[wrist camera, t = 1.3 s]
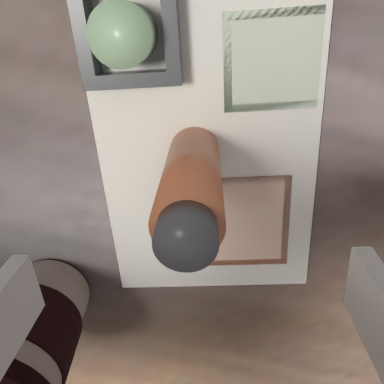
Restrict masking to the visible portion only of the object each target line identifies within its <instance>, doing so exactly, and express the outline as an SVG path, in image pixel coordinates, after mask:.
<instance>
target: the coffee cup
mask: <svg viewBox="0 0 384 384" xmlns="http://www.w3.org/2000/svg"><path fill="white" fill-rule="evenodd" d="M32 264H33V267H34V270H35V274H36V277H37V280H38V283H39V286H40V290H41V293H42V296H43V299H44V303H45V306H44V308H43V310H42V311H41V313H40V315H39V316H38V318H37V320H36V322H35V323H34V325H33V327H32V328H31V330H30V332H29V334H28V335H27V337H26V339H25V340H24V342H23V344H22V346H21V347H20V349H19V351H18V352H17V354H16V356H15V358H14V359H13V361H12V363H11V364H10V366H9V368H8V370H7V371H6V373H5V375H4V376H3V378H2V380H1V382H0V384H65V382H66V379H67V376H68V373H69V370H70V366H71V363H72V360H73V357H74V354H75V350H76V347H77V344H78V341H79V338H80V334H81V331H82V321H83V317H84V314H85V311H86V308H87V305H88V302H89V297H90V290H89V286H88V283H87V281H86V279H85V278H84V277H83V275H82V274H81V273H80V272H79V271H78V270H76V269H75V268H73V267H72V266H70V265H68V264H66V263H63V262H60V261H55V260H41V261H37V262H34V263H32Z"/></svg>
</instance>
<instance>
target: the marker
mask: <svg viewBox="0 0 384 384" xmlns="http://www.w3.org/2000/svg"><path fill="white" fill-rule="evenodd" d="M148 229H149V234H150V236H151V239H152V250H153V252H154V255H155V257H156V258H157V259H158V261H159V262H160V263H161V264H163V265H164V266H165V267H167V268H169V269H171V270H174V271H177V272H183V273H190V272H196V271H200V270H202V269H204V268H206V267H207V266H209V265H210V264H211V263H212V262H213V261H214V260H215V258H216V256H217V254H218V252H219V246H220V244H221V243H222V241H223V239H224V237H225V233H226V218H225V208H224V197H223V186H222V176H221V165H220V155H219V146H218V142H217V140H216V138H215V137H214V135H213V134H212V133H210V132H209V131H208V130H206V129H204V128H200V127H188V128H185V129H183V130H181V131H180V132H178V133H177V134H176V135H175V136H174V138H173V140H172V142H171V145H170V148H169V152H168V155H167V159H166V162H165V166H164V169H163V172H162V176H161V179H160V183H159V186H158V189H157V193H156V196H155V200H154V203H153V207H152V210H151V213H150V217H149V222H148Z"/></svg>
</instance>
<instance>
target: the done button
mask: <svg viewBox="0 0 384 384" xmlns="http://www.w3.org/2000/svg"><path fill="white" fill-rule="evenodd" d="M86 36H87V41H88V44H89V47H90V49H91V51H92V53H93V54H94V56H95V57H96V58H97V59H98V60H99V61H100V62H101V63H103V64H104V65H106V66H108V67H110V68H113V69H117V70H126V69H130V68H133V67H135V66H137V65H138V64H140V63H141V62H143V61H145V60H146V59H147V58H149V57H150V55H151V54H152V53H153V51H154V49H155V47H156V44H157V39H158V31H157V26H156V23H155V21H154V19H153V17H152V15H151V14H150V13H149V11H148V10H147V9H145V8H144V7H143V6H141V5H140V4H137V3H135V2H131V1H127V0H106V1H103V2H101V3H100V4H98V5H97V6H96V7H95V8H94V9H93V11H92V12H91V14H90V16H89V18H88V21H87V27H86Z"/></svg>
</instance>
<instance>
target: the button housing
mask: <svg viewBox="0 0 384 384" xmlns="http://www.w3.org/2000/svg"><path fill="white" fill-rule="evenodd" d="M67 4H68V9H69V15H70V20H71V25H72V31H73V36H74V41H75V47H76V52H77V57H78V63H79V68H80V73H81V79H82V84H83V89H84V91H99V90H117V89H134V88H152V87H169V86H182V84H183V82H184V81H183V66H182V52H181V37H180V23H179V8H178V0H160V5H161V17H162V28H163V39H164V51H165V62H166V68H164V69H148V70H131V71H114V72H103V71H102V65H101V62H100V61H99V60H98V59H97V58H96V57H95V56H94V54H93V53H92V51H91V49H90V47H89V44H88V41H87V36H86V27H87V21H88V18H89V16H90V14H91V12H92V11H93V9H92V3H91V0H67Z"/></svg>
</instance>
